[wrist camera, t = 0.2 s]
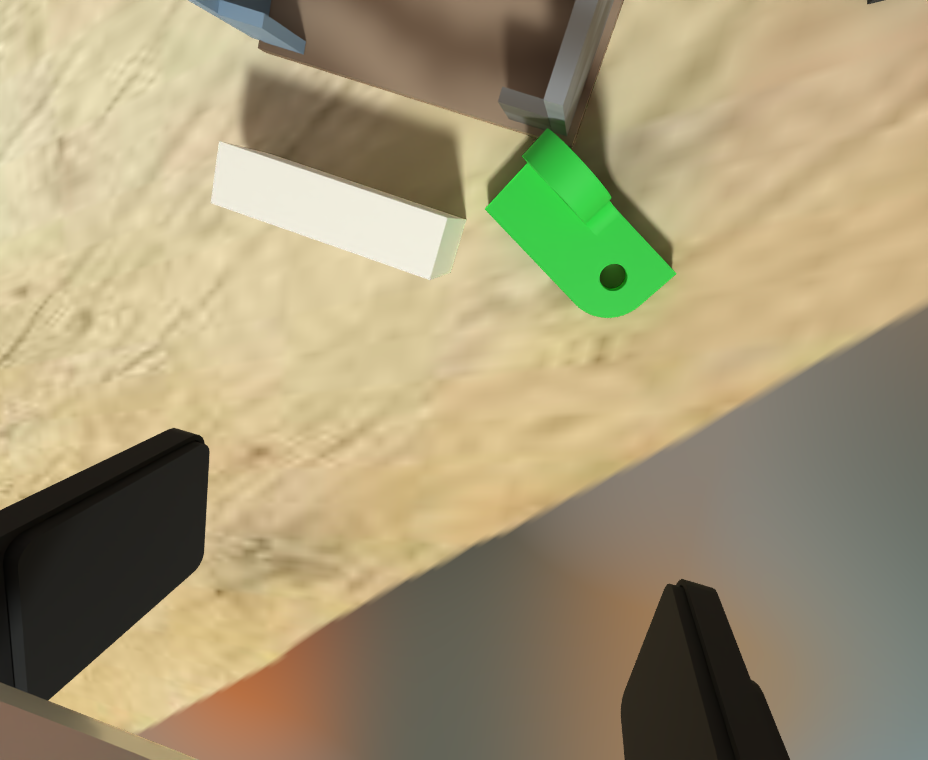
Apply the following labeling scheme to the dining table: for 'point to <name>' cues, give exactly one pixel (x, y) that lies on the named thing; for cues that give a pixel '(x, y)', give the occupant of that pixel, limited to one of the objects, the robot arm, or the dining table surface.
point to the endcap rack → (463, 53)
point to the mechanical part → (576, 231)
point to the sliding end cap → (253, 21)
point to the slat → (336, 211)
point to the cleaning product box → (873, 1)
